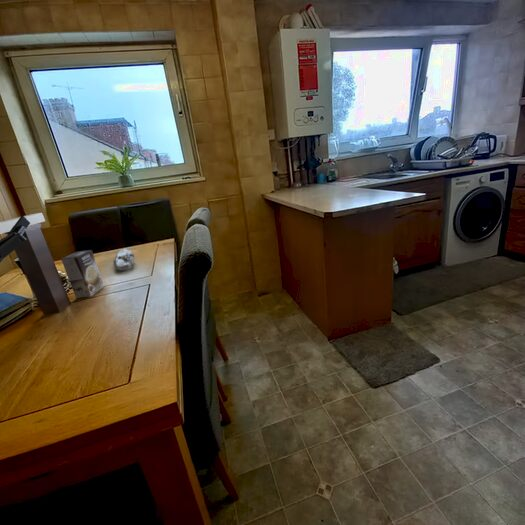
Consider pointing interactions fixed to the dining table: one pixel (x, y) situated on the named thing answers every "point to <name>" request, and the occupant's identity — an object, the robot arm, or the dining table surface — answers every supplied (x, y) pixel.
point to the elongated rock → (124, 259)
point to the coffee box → (83, 273)
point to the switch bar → (8, 224)
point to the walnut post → (42, 271)
